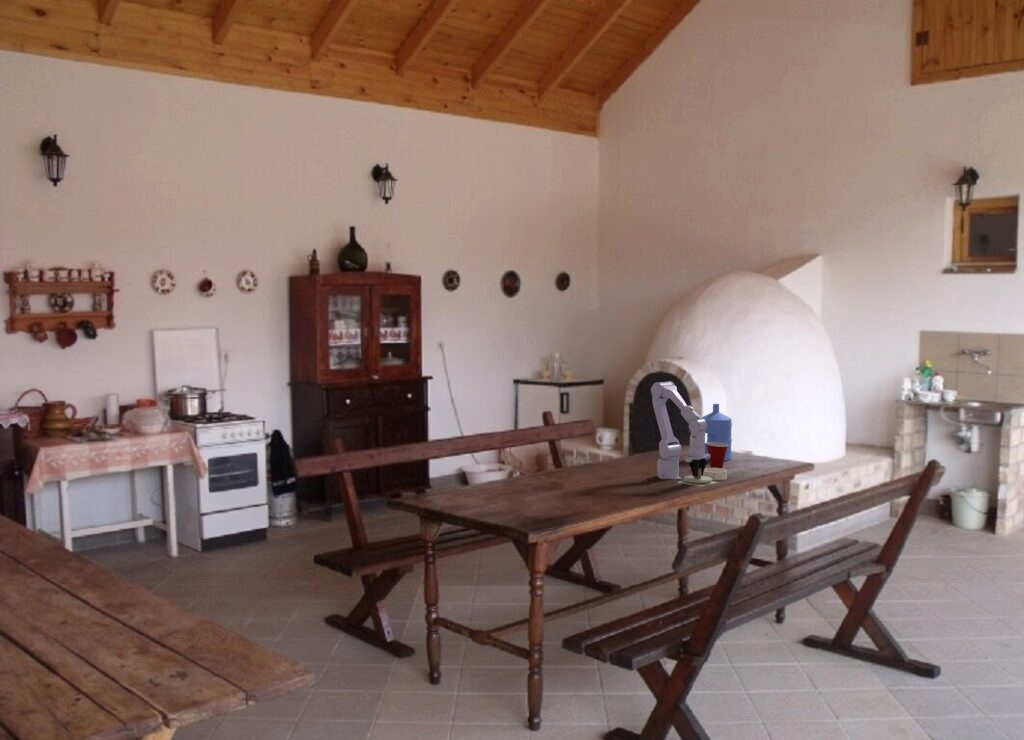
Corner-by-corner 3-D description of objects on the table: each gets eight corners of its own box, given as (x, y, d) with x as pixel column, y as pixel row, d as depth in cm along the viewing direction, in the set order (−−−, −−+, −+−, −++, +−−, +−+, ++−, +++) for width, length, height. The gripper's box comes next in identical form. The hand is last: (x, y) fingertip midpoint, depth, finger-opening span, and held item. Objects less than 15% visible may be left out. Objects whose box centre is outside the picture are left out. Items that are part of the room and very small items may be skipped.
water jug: (726, 456, 477) (726, 402, 475) (735, 461, 462) (735, 405, 460) (696, 456, 476) (696, 402, 474) (704, 462, 461) (705, 406, 459)
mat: (701, 487, 401) (701, 486, 401) (676, 483, 410) (676, 482, 410) (718, 483, 409) (718, 482, 409) (694, 479, 419) (694, 478, 419)
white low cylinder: (705, 481, 414) (705, 472, 413) (698, 476, 425) (699, 468, 424) (729, 480, 414) (729, 472, 414) (722, 476, 425) (722, 467, 425)
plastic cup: (730, 469, 440) (731, 444, 439) (707, 469, 441) (708, 445, 440) (725, 465, 451) (726, 441, 450) (703, 465, 451) (703, 441, 450)
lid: (687, 485, 403) (687, 471, 403) (680, 479, 415) (680, 465, 415) (715, 484, 404) (715, 470, 404) (707, 478, 416) (707, 465, 416)
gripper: (694, 448, 401) (694, 479, 402) (715, 445, 410) (715, 475, 411) (681, 446, 406) (681, 477, 407) (703, 443, 415) (702, 473, 416)
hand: (697, 476), depth 410 cm, fingers closed on lid, 3 cm apart
